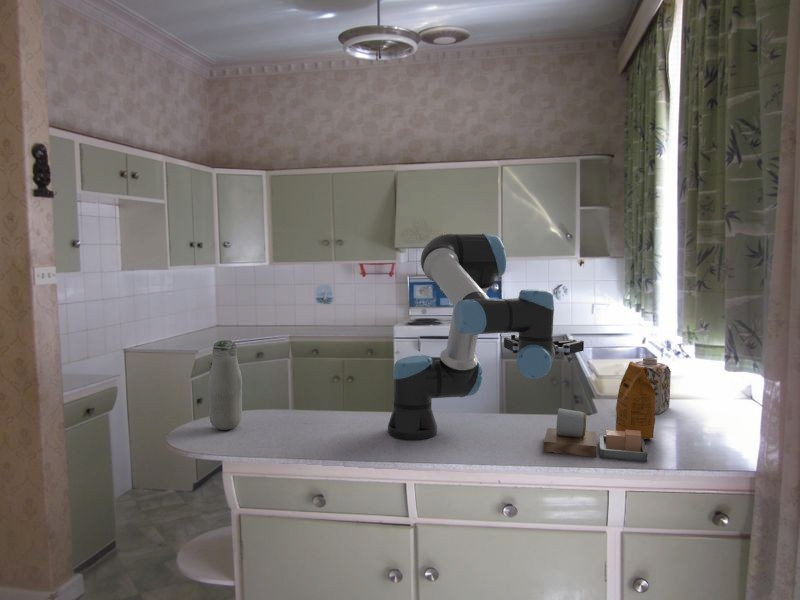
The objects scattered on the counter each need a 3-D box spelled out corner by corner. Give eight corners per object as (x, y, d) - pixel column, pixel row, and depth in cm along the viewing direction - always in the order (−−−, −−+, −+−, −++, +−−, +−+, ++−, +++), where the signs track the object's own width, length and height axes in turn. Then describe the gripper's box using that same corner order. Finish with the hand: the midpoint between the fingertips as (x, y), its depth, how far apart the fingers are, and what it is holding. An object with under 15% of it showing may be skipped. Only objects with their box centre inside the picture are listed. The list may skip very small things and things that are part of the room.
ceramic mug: (586, 440, 178) (586, 413, 178) (555, 438, 181) (556, 411, 180) (585, 431, 189) (586, 405, 188) (557, 428, 191) (558, 403, 190)
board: (543, 452, 178) (543, 441, 178) (547, 437, 192) (547, 427, 191) (596, 456, 174) (596, 446, 174) (595, 441, 187) (596, 431, 187)
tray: (599, 457, 174) (600, 449, 174) (599, 442, 187) (599, 434, 187) (647, 461, 170) (647, 453, 170) (643, 445, 184) (643, 438, 184)
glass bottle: (205, 433, 195) (203, 343, 193) (216, 424, 206) (213, 338, 203) (237, 433, 195) (235, 343, 193) (246, 424, 205) (244, 338, 203)
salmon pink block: (606, 448, 179) (606, 434, 179) (606, 443, 184) (606, 429, 184) (625, 450, 178) (625, 436, 177) (624, 445, 183) (624, 431, 182)
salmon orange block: (625, 434, 176) (641, 435, 175) (625, 429, 181) (640, 430, 179) (625, 452, 176) (640, 453, 175) (624, 446, 181) (639, 448, 180)
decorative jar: (626, 409, 225) (627, 358, 224) (636, 402, 234) (638, 354, 233) (661, 414, 218) (663, 362, 216) (670, 407, 227) (672, 357, 226)
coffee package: (643, 429, 200) (645, 360, 198) (657, 442, 187) (660, 368, 186) (611, 429, 200) (613, 360, 198) (623, 441, 188) (625, 367, 186)
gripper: (486, 365, 156) (498, 351, 177) (593, 370, 149) (593, 355, 170) (487, 334, 156) (499, 324, 176) (593, 339, 149) (593, 327, 169)
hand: (545, 339), depth 173 cm, fingers open, 13 cm apart
